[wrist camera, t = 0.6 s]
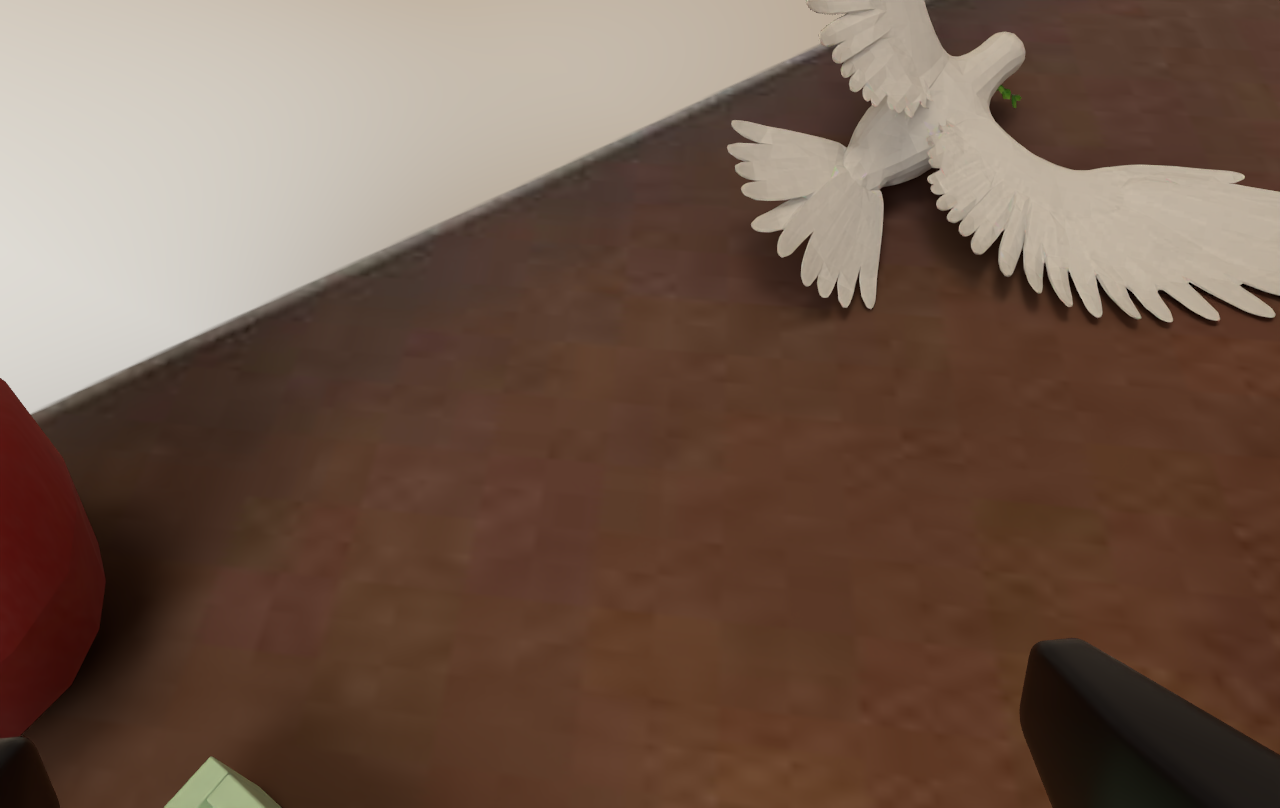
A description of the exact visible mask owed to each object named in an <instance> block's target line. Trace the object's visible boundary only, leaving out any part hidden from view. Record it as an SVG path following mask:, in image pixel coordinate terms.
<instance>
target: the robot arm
mask: <svg viewBox="0 0 1280 808" xmlns="http://www.w3.org/2000/svg"><path fill="white" fill-rule="evenodd" d="M1020 722H1021V727H1022V731H1023V734H1024V737H1025V739H1026V742H1027V744H1028V747H1029V749H1030V752H1031V754H1032V757H1033V760H1034V762H1035V765H1036V767H1037V770H1038V772H1039V775H1040V777H1041V780H1042V782H1043V785H1044V787H1045V790H1046V792H1047V795H1048V797H1049V800H1050V802H1051V805H1052V807H1053V808H1280V755H1279V754H1277V753H1275V752H1274V751H1272V750H1270V749H1268V748H1267V747H1265V746H1263V745H1262V744H1260V743H1258V742H1256V741H1255V740H1253V739H1251V738H1250V737H1248V736H1246V735H1245V734H1243V733H1241V732H1239V731H1238V730H1236V729H1234V728H1233V727H1231V726H1229V725H1227V724H1226V723H1224V722H1222V721H1221V720H1219V719H1217V718H1215V717H1214V716H1212V715H1210V714H1209V713H1207V712H1205V711H1204V710H1202V709H1200V708H1198V707H1197V706H1195V705H1193V704H1192V703H1190V702H1188V701H1186V700H1185V699H1183V698H1181V697H1180V696H1178V695H1176V694H1174V693H1173V692H1171V691H1169V690H1168V689H1166V688H1164V687H1163V686H1161V685H1159V684H1157V683H1156V682H1154V681H1152V680H1151V679H1149V678H1147V677H1145V676H1144V675H1142V674H1140V673H1139V672H1137V671H1135V670H1133V669H1132V668H1130V667H1128V666H1127V665H1125V664H1123V663H1122V662H1120V661H1118V660H1116V659H1115V658H1113V657H1111V656H1110V655H1108V654H1106V653H1104V652H1103V651H1101V650H1099V649H1098V648H1096V647H1094V646H1092V645H1091V644H1089V643H1087V642H1085V641H1083V640H1081V639H1076V638H1068V639H1057V640H1046V641H1040V642H1038V643H1036V644H1035V645H1034V646H1033V648H1032V649H1031V651H1030V655H1029V659H1028V665H1027V670H1026V676H1025V681H1024V687H1023V692H1022V697H1021V703H1020ZM0 808H60V805H59V801H58V798H57V796H56V793H55V791H54V789H53V786H52V784H51V781H50V779H49V777H48V774H47V772H46V770H45V767H44V765H43V763H42V760H41V758H40V755H39V753H38V751H37V749H36V747H35V745H34V743H32V742H31V741H30V740H29V739H27V738H24V737H8V738H0Z"/></svg>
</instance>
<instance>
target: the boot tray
mask: <svg viewBox="0 0 1280 808" xmlns="http://www.w3.org/2000/svg"><path fill="white" fill-rule="evenodd" d="M164 808H281V807H280V806H279V805H278V804H277V803H276V802H275V801H274V800H273V799H272V798H271V797H270V796H269V795H268V794H266V793H265V792H264V791H263V790H262V789H261V788H260V787H259V786H257V785H256V784H254V783H253V782H251V781H249V780H248V779H246V778H245V777H243V776H242V775H240V774H239V773H237V772H236V771H234V770H232V769H231V768H229V767H228V766H226V765H225V764H223V763H222V762H220V761H219V760H217V759H216V758H214V757H209V758H208V759H207V761H206V762H205V763H204V764H203V765H202V766H201V767H200V768H199V769H198V770H197V772H196V773H195V774H194V775H193V776H192V777H191V778H190V779H189V780H188V781H187V783H186V784H185V785H184V786H183V787H182V788H181V789H180V790H179V791H178V793H177V794H176V795H175V796H174V797H173V798H172V799H171V800H170V801H169V802H168V804H167V805H166V806H165V807H164Z"/></svg>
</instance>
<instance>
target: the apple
mask: <svg viewBox="0 0 1280 808" xmlns="http://www.w3.org/2000/svg"><path fill="white" fill-rule="evenodd" d="M105 583H106V579H105V574H104V569H103V564H102V559H101V554H100V549H99V544H98V541H97V539H96V536H95V534H94V532H93V529H92V527H91V524H90V522H89V519H88V517H87V515H86V512H85V510H84V507H83V505H82V503H81V500H80V498H79V495H78V493H77V490H76V488H75V486H74V483H73V481H72V478H71V476H70V473H69V471H68V469H67V466H66V464H65V461H64V459H63V457H62V456H61V455H60V453H59V452H58V451H57V449H56V448H55V447H54V445H53V444H52V443H51V441H50V440H49V439H48V437H47V436H46V435H45V433H44V432H43V431H42V429H41V428H40V427H39V425H38V424H37V423H36V422H35V420H34V419H33V418H32V416H31V415H30V414H29V412H28V411H27V410H26V408H25V407H24V406H23V404H22V403H21V402H20V400H19V399H18V398H17V396H16V395H15V394H14V392H13V391H12V390H11V388H10V387H9V386H8V384H7V383H6V382H5V381H4V380H2V379H1V378H0V738H8V737H18V736H20V735H21V734H22V733H23V732H24V731H25V730H26V729H27V728H28V727H29V726H30V725H31V724H32V723H33V722H34V721H35V720H36V719H37V718H38V717H39V716H40V715H42V714H43V713H44V712H45V711H46V710H47V709H48V708H49V707H50V706H51V705H52V704H53V703H54V702H55V701H56V700H57V699H58V698H59V697H60V696H61V695H62V694H63V693H64V692H65V691H66V690H67V689H68V688H69V687H70V686H71V685H72V683H73V681H74V679H75V677H76V675H77V673H78V671H79V669H80V667H81V665H82V663H83V661H84V659H85V657H86V655H87V653H88V651H89V649H90V647H91V645H92V643H93V641H94V639H95V637H96V635H97V633H98V631H99V628H100V620H101V613H102V605H103V598H104V591H105Z"/></svg>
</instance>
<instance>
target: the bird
mask: <svg viewBox="0 0 1280 808" xmlns="http://www.w3.org/2000/svg"><path fill="white" fill-rule="evenodd" d="M806 4H807V5H808V7H809V8H810V10H812V11H814V12H816V13H822V14H843V13H846V14H845V15H844V16H842V17H840V18H838V19H836V20H834V21H833V22H831V23H830V24H828V25H827V26H826V27H825V28H824V29H823V30H821V32H820V34H819V41H820V42H821V44H822V45H823V46H827V47H829V46H832V45H836V44H839V45H838V46H837V47H836V48H835V49H834V50H833V54H832V58H833V61H834V62H836V63H842V62H844V63H843V65H842V67H841V74H842V76H843V77H844V78H848V77H849V76H851V75H852V74H853V75H852V77H851V78H850V82H849V86H850V90H852V91H853V92H858V91H859V90H861V89H862V87H863V86H864V87H863V97H864V99H865V101H866V102H868V101H870V100H871V103H872V106H871V107H870V108H869V109H868V110H867V111H866V113H865V114H864V116H863V117H862V119H861V120H860V122H859V123H858V125H857V127H856V129H855V131H854V133H853V135H852V138H851V140H850V143H849V145H848V147H847V148H846V147H845V146H843V145H842V144H840V143H838V142H835V141H831V140H828V139H824V138H821V137H817V136H812V135H808V134H803V133H799V132H794V131H790V130H785V129H779V128H774V127H768V126H764V125H759V124H755V123H751V122H747V121H739V120H733V121H732V127H733V128H734V130H736V131H737V132H738V133H739V134H741V135H742V136H743V137H745V138H748V139H750V140H752V141H755V142H757V143H760V144H750V143H736V144H731V145H728V146H727V149H728V152H729V153H730V154H732V155H733V156H734V157H736V158H737V159H739V160H742V161H745V162H741V163H739V164H737V165H735V171H736V172H737V173H738V174H739V175H740V176H742V177H744V178H746V179H750V180H755V181H756V182H750V183H746V184H745V185H743V186H742V187H741V192H742V193H743V194H744V195H745V196H748V197H750V198H752V199H754V200H765V201H778V200H789V199H791V200H789V201H787V202H785V203H783V204H781V205H780V206H778V207H776V208H775V209H773V210H771V211H769V212H767V213H765V214H763V215H761V216H759V217H757V218H756V219H755V220H754V221H753V222H752V223H751V226H752V228H753V229H754V230H756V231H759V232H775V231H779V230H784V231H783V233H782V234H781V235H780V237H779V240H778V245H777V252H778V254H779V256H781V257H785V256H788V255H790V254H792V253H793V252H794V251H795V249H796V248H797V247H798V246H799V245H800V244H801V243H802V242H803V241H804V240H805V239H806V238H807V237H808V236H809V235H810V234H811V233H812V232H813V233H812V235H811V238H810V240H809V242H808V245H807V248H806V250H805V253H804V257H803V261H802V264H801V278H802V282H803V284H804V285H805V286H810V285H811V284H812V283H813V281H814V280H815V279H816V277H817V276H818V280H817V286H818V291H819V295H820V296H822V297H823V298H828V296H829V295H830V294H831V292H832V290H833V288H834V285H835V283H836V280H837V278H838V281H837V289H838V300H839V302H840V304H841V305H842V307H844V308H847V307H848V305H849V304H850V302H851V299H852V296H853V293H854V289H855V284H856V280H857V277H858V273H859V283H860V289H861V296H862V299H863V301H864V303H865V305H866V307H867V308H869V309H872V308H873V307H874V304H875V300H876V285H877V273H878V265H879V257H880V248H881V239H882V229H883V210H884V204H883V197H882V192H881V191H880V189H881V188H882V187H886V186H892V185H896V184H900V183H903V182H906V181H908V180H911V179H914V178H916V177H918V176H920V175H921V174H923V173H925V172H926V171H928V170H930V169H931V168H940V170H939V171H937V172H935V173H933V174H931V175H929V176H928V178H927V180H928V182H929V183H930V184H933V185H932V186H931V188H930V189H931V191H932V192H933V193H934V194H936V195H942V194H944V195H942V196H941V197H940V198H939V199H938V200H937V203H936V205H937V209H939V210H941V211H946V210H949V209H951V211H950V212H949V213H948V215H947V219H948V221H949V222H951V223H956V222H959V221H961V220H962V222H961V223H960V225H959V233H960V234H961V235H962V236H969V235H971V234H972V233H973V232H975V233H974V236H973V238H972V241H971V248H972V250H973V252H974V253H975V254H977V255H980V254H982V253H984V252H985V251H986V250H987V249H988V248H989V247H990V246H991V245H992V244H993V242H994V241H995V240H996V239H997V238H998V236H999V235H1000V234H1001V232H1002V231H1004V233H1003V236H1002V239H1001V242H1000V246H999V254H998V263H999V267H1000V270H1001V272H1002V273H1003V274H1004V275H1005V276H1007V277H1010V276H1011V275H1012V274H1013V272H1014V269H1015V267H1016V264H1017V261H1018V258H1019V256H1020V253H1021V250H1022V247H1023V264H1024V271H1025V274H1026V277H1027V280H1028V282H1029V284H1030V285H1031V287H1032V288H1033V289H1034V290H1035V291H1036V292H1037V293H1039V294H1040V293H1042V289H1043V281H1042V280H1043V268H1044V263H1045V264H1046V269H1047V274H1048V278H1049V280H1050V283H1051V285H1052V287H1053V289H1054V291H1055V292H1056V294H1057V295H1058V297H1059V299H1060V300H1061V301H1062V302H1063V303H1064V304H1065V305H1066V306H1067V307H1071V306H1072V305H1073V301H1072V295H1071V290H1070V286H1069V280H1068V272H1070V274H1071V277H1072V279H1073V282H1074V284H1075V286H1076V289H1077V291H1078V293H1079V295H1080V297H1081V299H1082V301H1083V303H1084V305H1085V307H1086V308H1087V310H1088V311H1089V312H1090V313H1091V314H1092V315H1094V316H1095V317H1097V318H1099V317H1101V315H1102V303H1101V299H1100V295H1099V291H1098V287H1097V280H1096V278H1097V279H1098V281H1099V282H1100V284H1101V286H1102V287H1103V289H1104V290H1105V292H1106V293H1107V294H1108V296H1109V297H1110V298H1111V299H1112V300H1113V301H1114V302H1115V303H1116V304H1117V305H1118V306H1119V307H1120V308H1121V309H1122V310H1123V311H1124V312H1125V313H1127V314H1128V315H1129V316H1131V317H1133V318H1135V319H1141V316H1140V314H1139V312H1138V310H1137V309H1136V307H1135V305H1134V304H1133V302H1132V300H1131V299H1130V297H1129V295H1128V292H1127V289H1129V290H1130V291H1131V292H1132V293H1133V294H1134V295H1135V296H1136V297H1137V299H1138V300H1139V301H1140V302H1141V303H1142V305H1143V306H1144V307H1145V308H1146V309H1148V310H1149V311H1150V312H1151V313H1153V314H1154V315H1155V316H1156V317H1158V318H1159V319H1160V320H1163V321H1165V322H1172V321H1173V318H1172V315H1171V312H1170V310H1169V309H1168V307H1167V306H1166V304H1165V303H1164V302H1163V300H1162V299H1161V297H1160V296H1159V294H1158V290H1163V291H1165V292H1166V293H1167V294H1169V295H1170V296H1172V297H1173V298H1175V299H1176V300H1177V301H1179V302H1180V303H1182V304H1183V305H1185V306H1186V307H1187V308H1189V309H1190V310H1192V311H1193V312H1195V313H1197V314H1199V315H1201V316H1202V317H1204V318H1206V319H1209V320H1214V321H1219V320H1220V316H1219V313H1218V312H1217V311H1216V310H1215V309H1214V308H1213V307H1212V306H1211V305H1210V304H1209V303H1208V302H1207V301H1206V300H1205V299H1204V298H1203V297H1202V296H1201V295H1200V294H1199V293H1198V292H1197V291H1196V290H1195V289H1193V288H1192V287H1191V286H1190V285H1189V282H1190V283H1192V284H1194V285H1196V286H1197V287H1199V288H1201V289H1203V290H1204V291H1206V292H1208V293H1210V294H1212V295H1214V296H1216V297H1217V298H1219V299H1221V300H1223V301H1225V302H1227V303H1229V304H1231V305H1233V306H1236V307H1238V308H1240V309H1242V310H1244V311H1246V312H1249V313H1251V314H1254V315H1257V316H1262V317H1269V318H1273V317H1275V315H1276V314H1275V313H1274V311H1273V309H1272V308H1271V307H1269V306H1268V305H1267V304H1265V303H1264V302H1263V301H1261V300H1260V299H1259V298H1257V297H1256V296H1254V295H1253V294H1251V293H1250V292H1248V291H1247V290H1245V289H1244V288H1242V287H1241V286H1240V285H1241V284H1246V285H1248V286H1251V287H1254V288H1256V289H1259V290H1262V291H1264V292H1268V293H1271V294H1275V295H1279V296H1280V192H1277V191H1271V190H1265V189H1259V188H1253V187H1247V186H1242V185H1236V184H1230V183H1236V182H1238V181H1241V180H1243V179H1244V178H1245V176H1244V175H1242V174H1241V173H1236V172H1232V171H1222V170H1210V169H1197V168H1187V167H1177V166H1160V165H1125V166H1115V167H1105V168H1099V169H1093V170H1071V169H1068V168H1064V167H1061V166H1058V165H1055V164H1053V163H1050V162H1048V161H1046V160H1044V159H1042V158H1040V157H1037V156H1035V155H1034V154H1032V153H1031V152H1029V151H1028V150H1027V149H1025V148H1024V147H1023V146H1021V145H1020V144H1019V143H1018V142H1016V141H1015V140H1014V139H1013V138H1012V137H1011V136H1009V135H1008V134H1007V133H1006V132H1005V131H1004V130H1003V129H1002V128H1001V127H1000V126H999V125H998V124H997V123H996V122H995V120H994V119H993V117H992V115H991V113H990V109H989V105H990V100H991V97H992V96H993V94H994V93H995V92H996V91H998V90H999V91H1000V92H1001V94H1002V96H1003V99H1010V95H1012V106H1013V108H1016V100H1018V101H1020V99H1021V97H1020V95H1014V94H1011V92H1010V90H1009V89H1005V88H1004V87H1003V86H1002V85H1001V84H1002V83H1003V82H1004V81H1005V80H1006V79H1007V78H1008V77H1010V76H1011V75H1013V74H1014V73H1015V72H1016V71H1017V70H1018V69H1019V68H1020V66H1021V65H1022V63H1023V61H1024V60H1025V49H1024V46H1023V42H1022V41H1021V40H1020V39H1019V38H1018V37H1017V36H1016V35H1015V34H1013V33H1008V32H1001V33H997V34H994V35H993V36H991V37H990V38H989V39H987V40H986V41H985V42H984V43H983V44H982V45H980V46H979V47H978V48H976V49H975V50H973V51H971V52H970V53H968V54H965V55H962V56H959V57H954V56H950V55H949V54H948V53H947V52H946V51H945V50H944V49H943V48H942V46H941V44H940V42H939V40H938V38H937V36H936V33H935V31H934V28H933V26H932V23H931V21H930V18H929V15H928V12H927V9H926V6H925V2H924V0H806ZM1024 240H1025V241H1024ZM1023 243H1024V246H1023ZM859 270H860V271H859ZM1126 288H1127V289H1126Z"/></svg>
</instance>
